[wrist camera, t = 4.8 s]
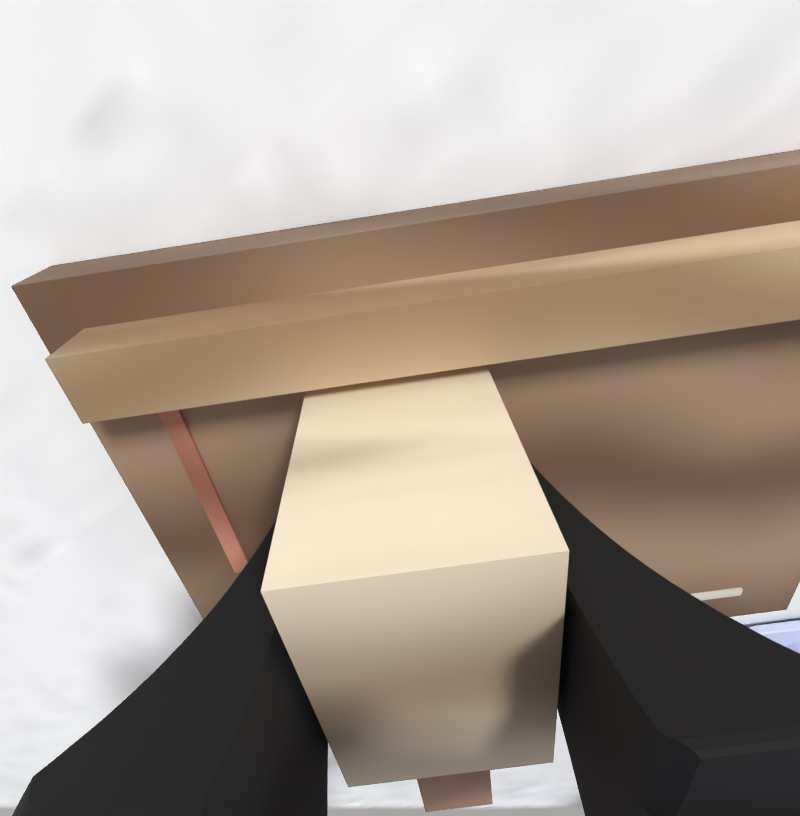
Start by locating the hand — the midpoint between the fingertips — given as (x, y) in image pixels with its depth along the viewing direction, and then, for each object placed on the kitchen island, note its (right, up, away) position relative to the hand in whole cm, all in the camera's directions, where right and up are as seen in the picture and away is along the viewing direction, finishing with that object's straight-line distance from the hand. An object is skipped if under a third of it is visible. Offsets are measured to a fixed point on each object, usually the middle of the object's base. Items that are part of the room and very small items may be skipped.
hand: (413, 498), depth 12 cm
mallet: (0, -1, +2) cm, 3 cm away
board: (+2, +1, +3) cm, 4 cm away
